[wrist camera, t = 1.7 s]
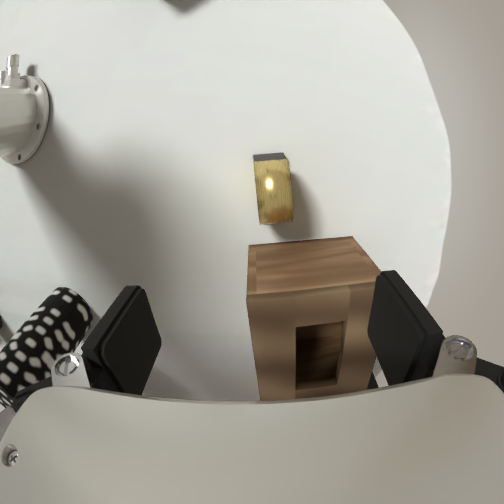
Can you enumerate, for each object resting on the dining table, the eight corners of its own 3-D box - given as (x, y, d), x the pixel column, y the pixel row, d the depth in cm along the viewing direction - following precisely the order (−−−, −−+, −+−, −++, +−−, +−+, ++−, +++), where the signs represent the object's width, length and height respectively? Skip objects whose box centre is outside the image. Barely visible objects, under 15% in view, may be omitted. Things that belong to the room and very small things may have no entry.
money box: (248, 245, 31) (246, 301, 21) (352, 236, 31) (391, 285, 21) (260, 343, 37) (261, 407, 27) (343, 334, 37) (364, 393, 27)
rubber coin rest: (253, 155, 27) (253, 155, 26) (282, 152, 27) (283, 153, 26) (259, 217, 30) (259, 220, 29) (287, 215, 30) (288, 218, 29)
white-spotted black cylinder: (96, 304, 35) (27, 408, 17) (89, 337, 38) (37, 431, 20) (53, 277, 33) (-25, 364, 15) (51, 313, 36) (-10, 395, 18)
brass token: (259, 214, 30) (260, 234, 24) (253, 158, 27) (253, 165, 22) (287, 211, 29) (294, 231, 24) (282, 156, 27) (290, 162, 22)
